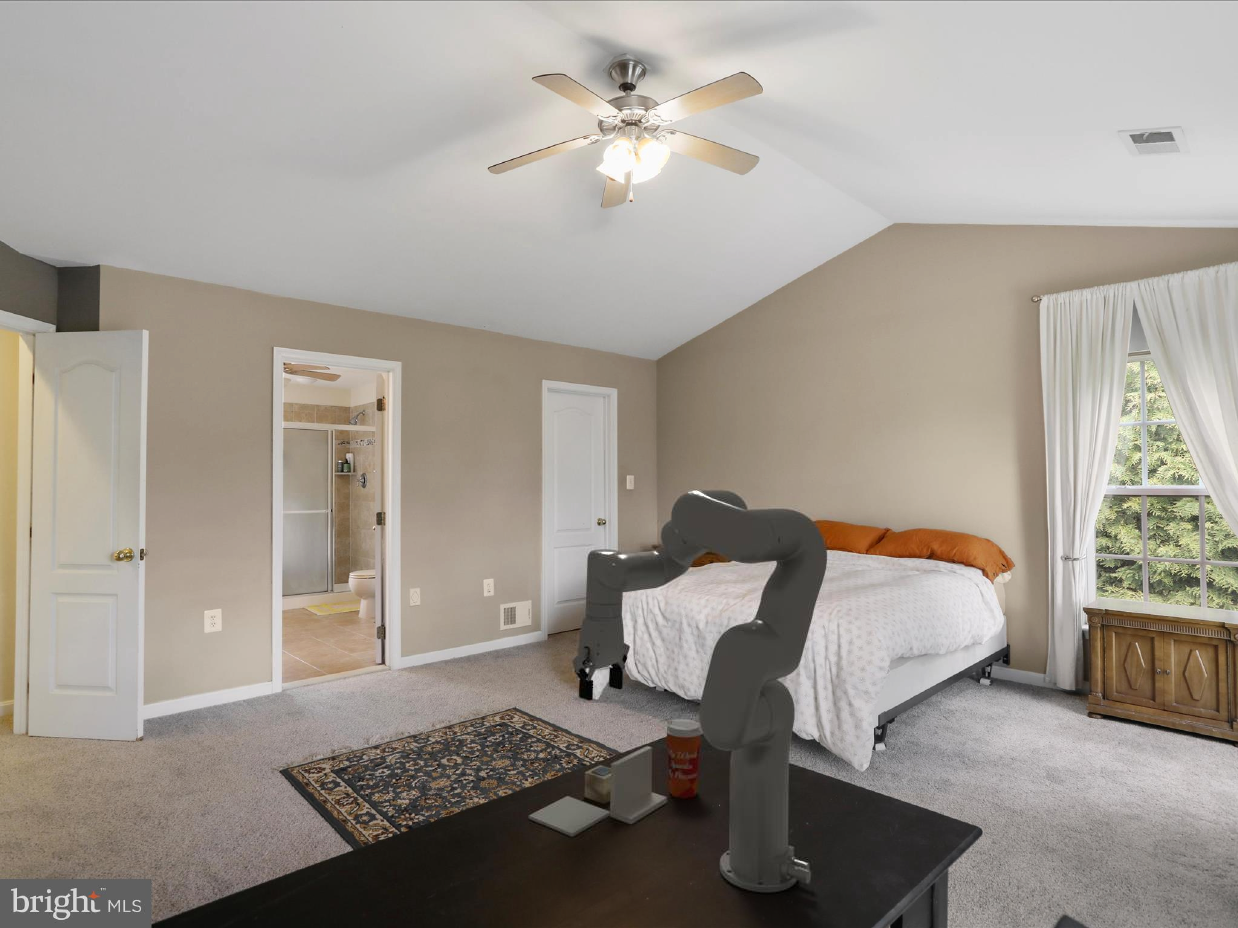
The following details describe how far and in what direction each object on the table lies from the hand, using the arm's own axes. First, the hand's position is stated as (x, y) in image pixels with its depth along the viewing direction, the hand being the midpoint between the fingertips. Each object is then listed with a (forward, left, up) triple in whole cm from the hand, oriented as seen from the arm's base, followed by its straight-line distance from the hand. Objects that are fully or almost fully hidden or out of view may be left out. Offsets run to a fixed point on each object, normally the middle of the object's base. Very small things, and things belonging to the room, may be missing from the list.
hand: (601, 693), depth 147 cm
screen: (-10, 0, -21) cm, 23 cm away
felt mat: (-2, +11, -21) cm, 23 cm away
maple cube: (-1, 0, -21) cm, 21 cm away
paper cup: (-13, -12, -21) cm, 27 cm away
